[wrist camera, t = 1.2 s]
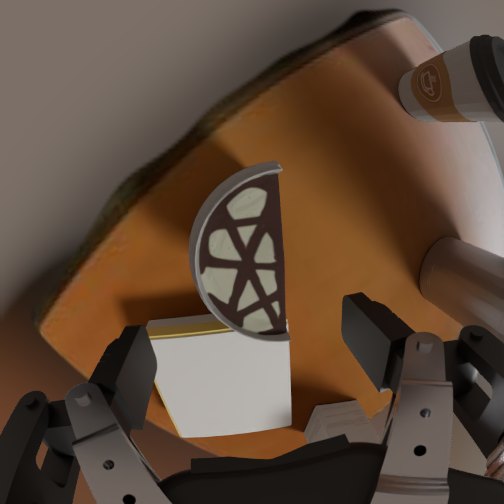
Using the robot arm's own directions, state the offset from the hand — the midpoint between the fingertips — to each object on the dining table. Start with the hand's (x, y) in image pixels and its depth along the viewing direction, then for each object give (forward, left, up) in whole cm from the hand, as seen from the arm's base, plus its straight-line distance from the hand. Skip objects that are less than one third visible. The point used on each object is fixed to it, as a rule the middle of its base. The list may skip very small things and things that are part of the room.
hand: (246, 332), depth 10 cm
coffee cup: (-23, -14, -16) cm, 32 cm away
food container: (0, 0, -16) cm, 16 cm away
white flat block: (+3, +16, -16) cm, 23 cm away
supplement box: (-11, +30, -16) cm, 36 cm away
